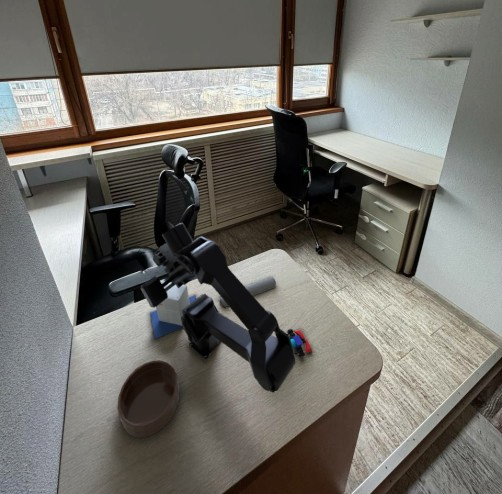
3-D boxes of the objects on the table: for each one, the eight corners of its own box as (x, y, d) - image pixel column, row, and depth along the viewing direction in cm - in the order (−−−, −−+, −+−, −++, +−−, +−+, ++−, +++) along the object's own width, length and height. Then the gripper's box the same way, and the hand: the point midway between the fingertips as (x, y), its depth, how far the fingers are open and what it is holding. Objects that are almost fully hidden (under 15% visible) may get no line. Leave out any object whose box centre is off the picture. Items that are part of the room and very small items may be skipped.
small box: (191, 310, 83) (187, 284, 79) (182, 326, 78) (178, 300, 74) (167, 305, 85) (163, 280, 81) (158, 321, 80) (153, 295, 76)
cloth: (194, 295, 89) (194, 295, 89) (203, 318, 81) (203, 317, 81) (150, 313, 83) (150, 312, 83) (155, 339, 75) (154, 338, 75)
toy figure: (297, 332, 78) (251, 346, 72) (301, 320, 77) (254, 334, 70) (312, 359, 72) (262, 377, 66) (317, 347, 70) (266, 365, 64)
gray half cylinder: (218, 297, 88) (218, 293, 87) (271, 277, 95) (271, 274, 95) (222, 308, 84) (222, 304, 84) (277, 286, 92) (277, 282, 91)
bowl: (190, 393, 64) (188, 381, 62) (144, 454, 54) (140, 443, 52) (156, 361, 70) (154, 349, 68) (110, 410, 61) (105, 399, 59)
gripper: (199, 223, 75) (179, 240, 86) (138, 260, 61) (122, 275, 72) (221, 257, 73) (197, 270, 84) (163, 304, 60) (143, 313, 70)
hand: (167, 280), depth 77 cm, fingers open, 9 cm apart
